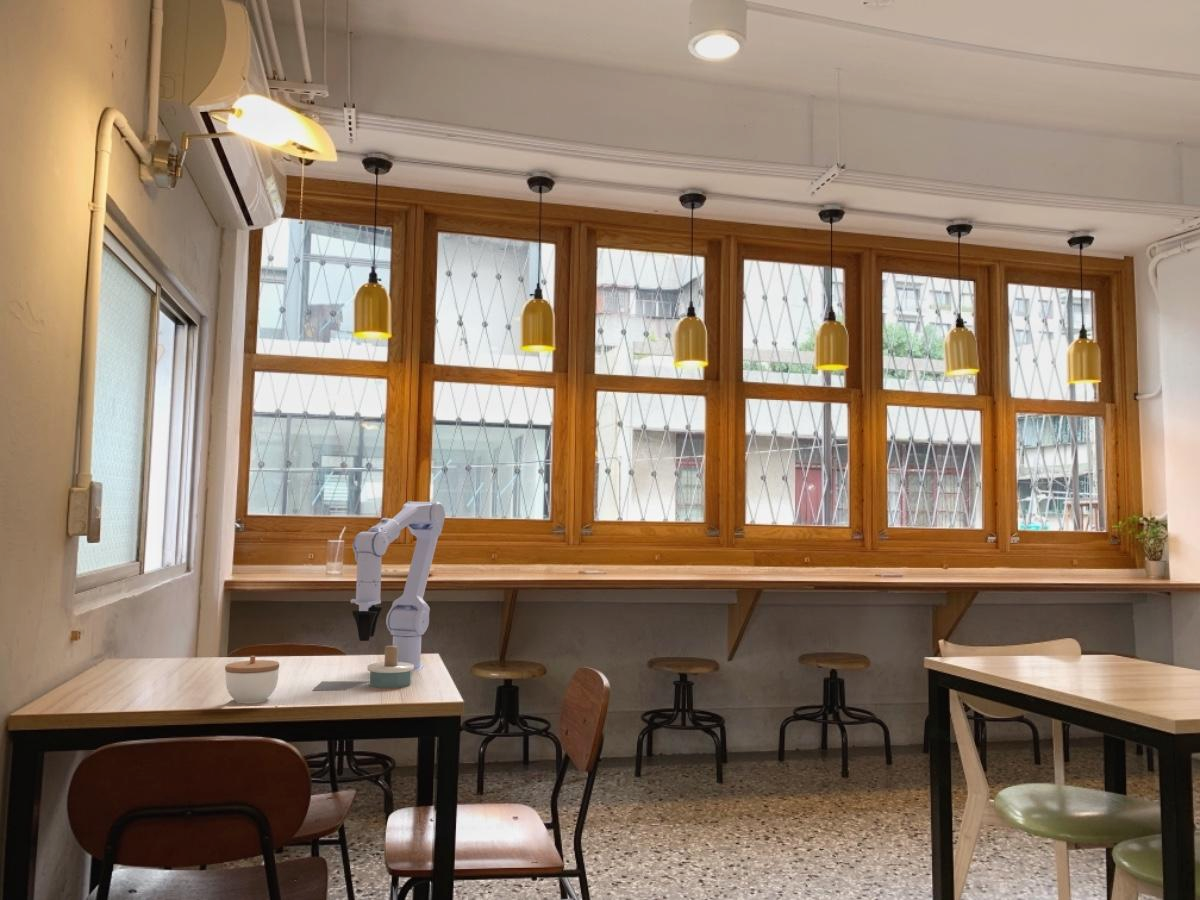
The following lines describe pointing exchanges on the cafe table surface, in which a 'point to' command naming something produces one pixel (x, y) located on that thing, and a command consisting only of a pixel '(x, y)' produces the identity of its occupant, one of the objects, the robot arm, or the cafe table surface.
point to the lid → (390, 663)
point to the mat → (337, 685)
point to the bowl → (390, 679)
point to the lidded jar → (251, 680)
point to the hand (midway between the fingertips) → (366, 638)
